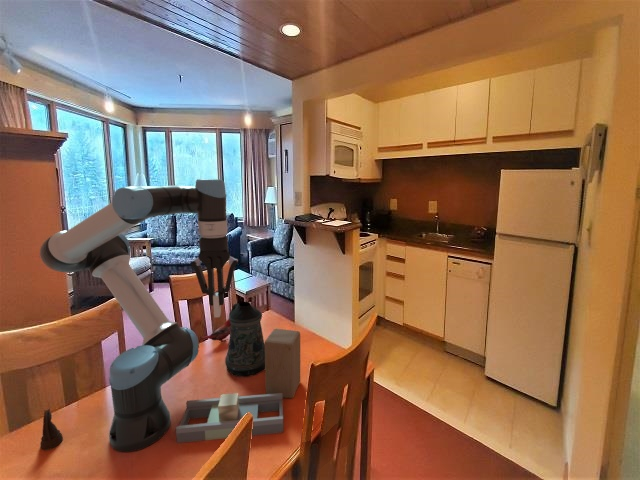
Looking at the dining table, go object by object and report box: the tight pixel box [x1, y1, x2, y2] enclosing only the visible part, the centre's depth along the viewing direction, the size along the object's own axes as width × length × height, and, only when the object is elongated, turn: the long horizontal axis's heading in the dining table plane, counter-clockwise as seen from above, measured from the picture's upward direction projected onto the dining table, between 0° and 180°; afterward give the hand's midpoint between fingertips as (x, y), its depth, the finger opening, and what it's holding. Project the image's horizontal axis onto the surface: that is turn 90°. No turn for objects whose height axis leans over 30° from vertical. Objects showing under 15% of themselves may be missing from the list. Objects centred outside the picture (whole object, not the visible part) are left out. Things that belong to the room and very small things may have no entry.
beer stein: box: [224, 301, 265, 378], centre depth 119 cm, size 16×19×25 cm
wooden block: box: [264, 328, 301, 399], centre depth 105 cm, size 10×10×20 cm
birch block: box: [218, 392, 239, 422], centre depth 91 cm, size 5×5×5 cm
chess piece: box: [40, 407, 64, 451], centre depth 83 cm, size 5×5×10 cm
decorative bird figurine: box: [199, 318, 231, 344], centre depth 135 cm, size 3×18×10 cm, turn 139°
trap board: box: [175, 393, 284, 444], centre depth 91 cm, size 29×11×4 cm, turn 98°
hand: (217, 315), depth 90 cm, fingers closed
